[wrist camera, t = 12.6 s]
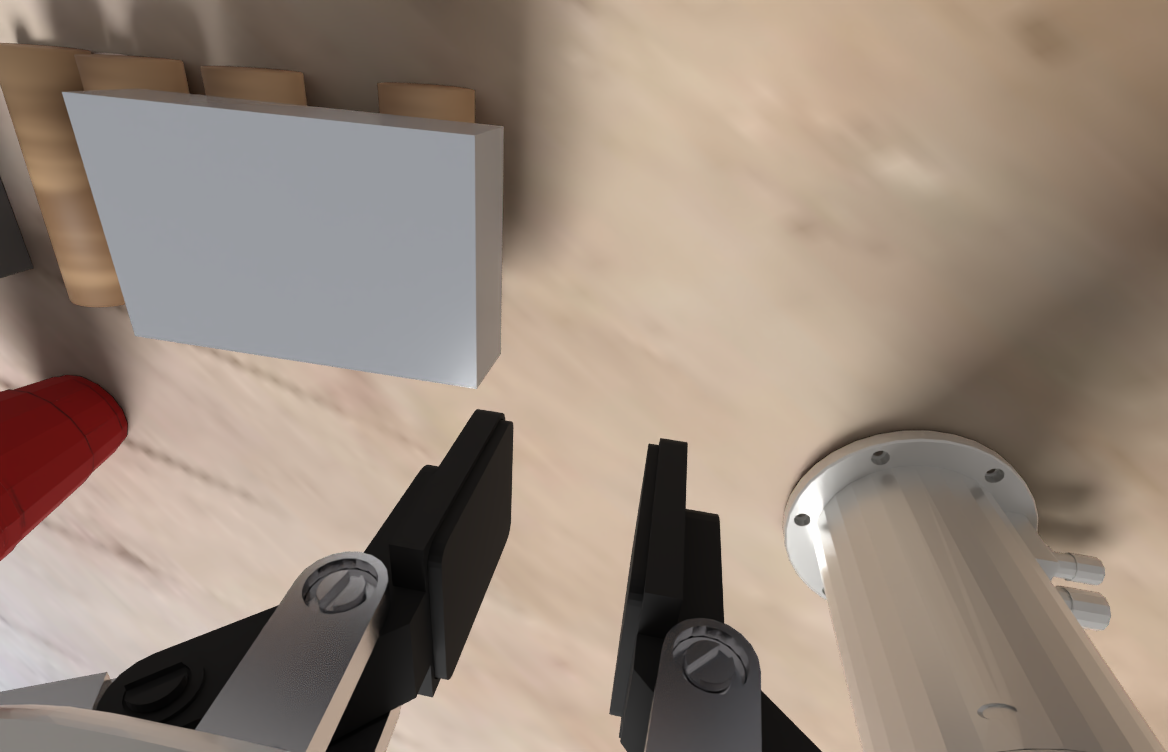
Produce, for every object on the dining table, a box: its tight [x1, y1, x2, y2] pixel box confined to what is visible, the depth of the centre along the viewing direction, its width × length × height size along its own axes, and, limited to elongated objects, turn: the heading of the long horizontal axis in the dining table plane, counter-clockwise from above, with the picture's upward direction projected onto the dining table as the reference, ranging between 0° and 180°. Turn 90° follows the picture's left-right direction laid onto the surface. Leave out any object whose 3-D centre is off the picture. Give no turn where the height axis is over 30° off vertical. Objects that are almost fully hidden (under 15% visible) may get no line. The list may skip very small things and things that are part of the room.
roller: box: [0, 43, 125, 307], centre depth 30 cm, size 4×12×4 cm
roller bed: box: [74, 54, 475, 123], centre depth 29 cm, size 18×12×4 cm, turn 86°
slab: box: [62, 88, 504, 389], centre depth 25 cm, size 16×10×4 cm, turn 85°
